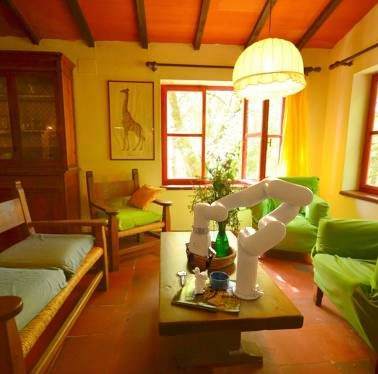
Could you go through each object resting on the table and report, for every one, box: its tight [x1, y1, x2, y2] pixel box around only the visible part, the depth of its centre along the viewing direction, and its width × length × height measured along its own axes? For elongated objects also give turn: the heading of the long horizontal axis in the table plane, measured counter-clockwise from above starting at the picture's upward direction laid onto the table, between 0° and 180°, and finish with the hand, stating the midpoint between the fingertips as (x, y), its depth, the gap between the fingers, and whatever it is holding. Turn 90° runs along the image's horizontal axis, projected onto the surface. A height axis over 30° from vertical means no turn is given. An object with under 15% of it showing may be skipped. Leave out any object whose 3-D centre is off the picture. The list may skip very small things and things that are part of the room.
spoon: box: [177, 270, 187, 286], centre depth 132 cm, size 14×4×1 cm, turn 4°
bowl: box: [208, 271, 231, 291], centre depth 126 cm, size 10×10×5 cm
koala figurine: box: [191, 266, 209, 295], centre depth 120 cm, size 8×7×12 cm
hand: (199, 264), depth 119 cm, fingers open, 9 cm apart
